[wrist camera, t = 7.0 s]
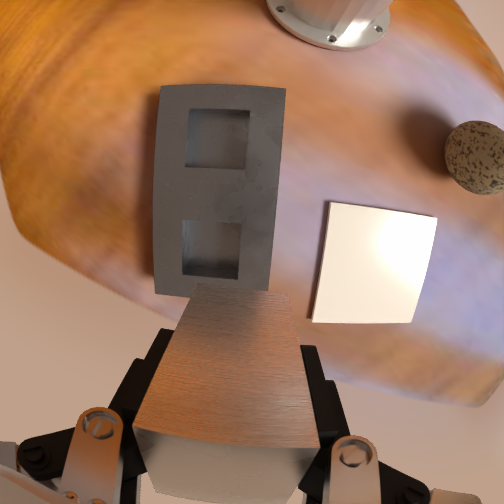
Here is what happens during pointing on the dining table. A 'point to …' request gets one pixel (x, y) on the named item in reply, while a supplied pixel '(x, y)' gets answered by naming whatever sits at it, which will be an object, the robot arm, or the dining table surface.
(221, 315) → the steel block
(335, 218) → the tile
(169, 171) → the block with square recesses
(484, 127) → the decorative egg
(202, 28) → the dining table surface
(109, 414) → the robot arm
